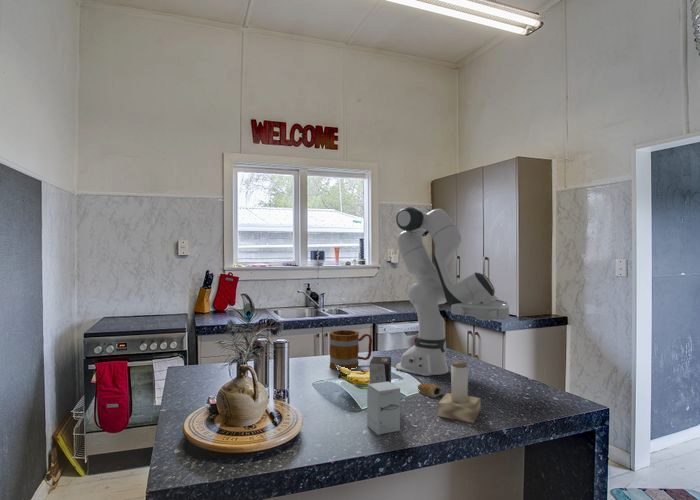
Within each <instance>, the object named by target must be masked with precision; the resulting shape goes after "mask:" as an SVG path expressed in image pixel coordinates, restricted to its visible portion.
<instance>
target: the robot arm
mask: <svg viewBox="0 0 700 500" xmlns="http://www.w3.org/2000/svg"><path fill="white" fill-rule="evenodd" d="M395 222H396V225H397V227H398V228H399V229H401V230H402V231H401V232H399V234H398V235H397V237H396V240H397V245H398V248H399V252H400V254H401V258H402V259H403V262H404V265H405V266H406V269H407V272H408V274H410V276H412V277H413V278H415V279H416V280H417V282H415V283H413V284H412V285H410V287H409V288H408V291H407V296H408V297H407V298H408V300H409V302H410V303H411V304H412V305H413V306H414V309H415V311H416V315H417V321H418V322H417V323H418V335H417V336H416V337H415V338H414V339H413V343H414V345H413V346H411V347H410V348H408V349H407V350H405V351H404V352H403V353H402V355H401V358H400V362H398V363H397V364H396V365H395V369H396V368H397V369H399V370H398V371H400V370H402V371H401V372H405V373H409V374H414V375H420V376H423V377H424V376H425V377H429V376H435V375H437V376H439V375H444V374H447V373H449V368H448V365H447V357H446V350H447V341H446V337H445V333H446V332H445V329H446V328H445V327H446V326H445V324H446V323H445V322H446V321H445V319H444V317H443V316H442V315H441V313H440V308H439V305H443V304H445V303H447V305H448V306H449V308H450V311H451V312H450V314H451V315H453V316H455V315H456V316H466V317H467V316H468V317H474V318H475V319H476V320H478V321H480V322H481V321H484V322H485V321H491V320H507V319H509V318H510V306H509V305H508V301H505V300H500V299H498V297H497V295H495V293H496V292H495V288H494V285H493V283H492V282H491V280H490V279H489V278H488V277H487V276H486V275H485V274H482V273H480V272H473V273H472V274H470V275H468V276H466V277H465V278H463V279H462V280H460V281H458V282H457V283H454V282H453V278H452V274H451V273H450V269H449V263H450V260H451V259H452V257H453V256H454V254H455V253H456V252H457V251H458V249H459V248H460V246H461V244H462V243H461V241H462V235H461V233H460V231H459V229H458V227H457V225H456V224H455V222H454V221H453V218H451V217H450V216H449V214H448V213H447V211H445V210H444V209H442V208H435V209H432V210H431V209H428V208H424V207H420V206H417V207H415V206H405V207H402V208H400V209H399V210H398V212H397V214H396V216H395ZM427 235H430V237H431V238H432V240H433V243H434V252H433V255H432V256H433V261H432V259H431V257H430V256H429V252H428V251H427V249H426V247H425V244H424V242H423V239H422V237H427ZM433 262H434V263H433Z"/></svg>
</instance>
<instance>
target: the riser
mask: <svg viewBox="0 0 700 500" xmlns="http://www.w3.org/2000/svg"><path fill="white" fill-rule="evenodd" d="M481 399H482V398H481V397H476V396H470V395H468V402H466V403H457V402H453V401H452V400H451V392H447V393H445V394H444V396H443V397H442V398H441V399H440V400H439V401H438V403H437V416H438V417H442V418H446V419H451V420H456V421H457V420H458V421H462V422H468V423H472V424H473V423H475V421H476V419H477V417H478V416H479V414H480V413H481V403H482V401H481Z"/></svg>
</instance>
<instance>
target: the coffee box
mask: <svg viewBox="0 0 700 500" xmlns="http://www.w3.org/2000/svg"><path fill="white" fill-rule="evenodd" d="M381 382H390V383H392V357H391V356H372V358H371V360H370V362H369V384H373V383H381Z"/></svg>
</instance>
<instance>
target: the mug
mask: <svg viewBox="0 0 700 500" xmlns="http://www.w3.org/2000/svg"><path fill="white" fill-rule="evenodd" d="M359 336H360V332H359V331H358V330H357V331H356V330H352V329H351V330H350V329H339V330H332V331H330V333H329V339H330V341H329V342H330V343H329V357H330V358H329V369H332V370H335V371H338V370H337V368H336V366H335V364H336V365H339V366H341V367H345V368H348V369H351V368H356V367H358V368H359V366H358V364H359V360H364V361H368V360H370V358H371V355H372V345H373V344H372V343H373V339H372V336H371V335H370V334H369V333H364V334H363V335H361V337H359ZM366 337H368V352H367V356H366V357H364V356H359V352H360V351H359V350H360V349H359V346H360V345H359V342H361V341H363V340H364V339H365V338H366Z"/></svg>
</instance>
